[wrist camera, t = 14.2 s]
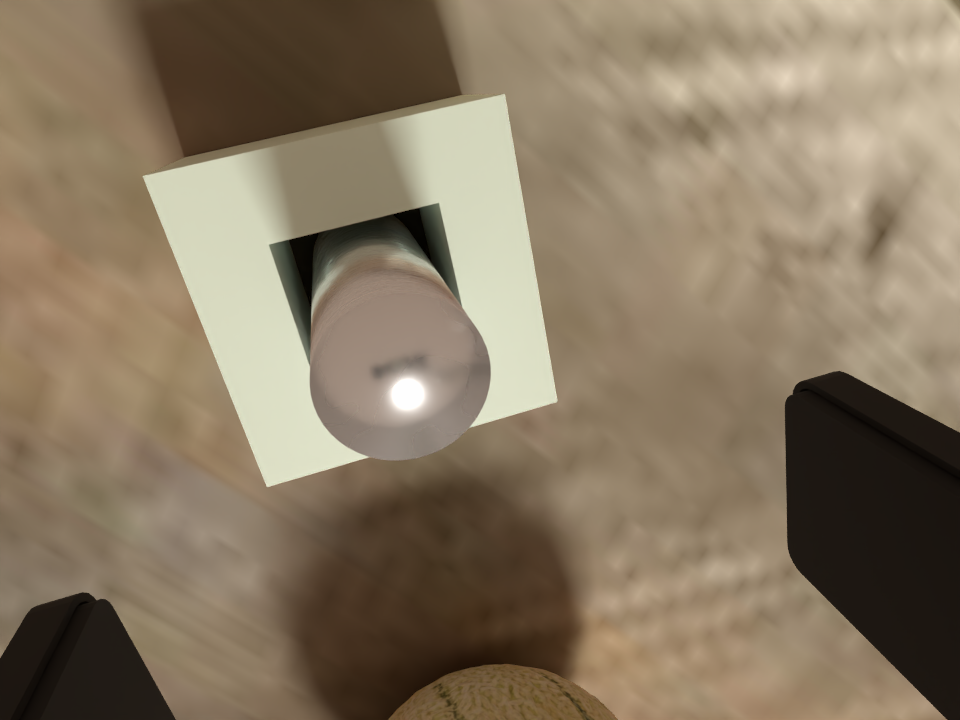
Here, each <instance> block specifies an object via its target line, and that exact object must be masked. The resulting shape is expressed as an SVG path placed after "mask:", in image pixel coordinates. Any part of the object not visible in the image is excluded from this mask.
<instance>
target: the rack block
mask: <svg viewBox="0 0 960 720" xmlns="http://www.w3.org/2000/svg"><path fill="white" fill-rule="evenodd" d="M143 178H144V180H145V183H146V185H147V188H148V190H149V193H150V195H151V198H152V201H153V203H154V206H155V208H156V211H157V213H158V216H159V218H160V221H161V223H162V226H163V228H164V231H165V233H166V236H167V238H168V241H169V243H170V246H171V248H172V251H173V253H174V256H175V258H176V261H177V263H178V266H179V268H180V271H181V273H182V276H183V278H184V281H185V283H186V286H187V288H188V291H189V293H190V296H191V298H192V301H193V303H194V306H195V308H196V311H197V313H198V316H199V318H200V321H201V323H202V326H203V328H204V331H205V333H206V336H207V338H208V341H209V343H210V346H211V348H212V351H213V353H214V356H215V358H216V361H217V363H218V366H219V368H220V371H221V373H222V376H223V378H224V381H225V383H226V386H227V388H228V391H229V393H230V396H231V398H232V401H233V403H234V406H235V408H236V411H237V413H238V416H239V418H240V421H241V423H242V426H243V428H244V431H245V433H246V436H247V438H248V441H249V443H250V446H251V448H252V451H253V453H254V456H255V458H256V461H257V463H258V466H259V468H260V471H261V473H262V476H263V478H264V481H265V483H266V486H267V487H269V486H273V485H276V484H280V483H283V482H286V481H290V480H293V479H297V478H300V477H303V476H307V475H310V474H314V473H317V472H320V471H324V470H327V469H331V468H334V467H337V466H341V465H344V464H348V463H351V462H354V461H358V460H361V459H365V458H368V456H365V455H363V454H360V453H357V452H355V451H353V450H352V449H350V448H348V447H346V446H345V445H343V444H342V443H341V442H339V441H338V440H337V439H336V438H335V437H334V436H332V435H331V434H330V432H329V431H328V430H327V429H326V428H325V426H324V425H323V423H322V422H321V420H320V419H319V417H318V415H317V413H316V410H315V408H314V406H313V402H312V398H311V393H310V347H311V307H310V304H309V301H308V298H307V295H306V292H305V289H304V286H303V283H302V280H301V276H300V273H299V270H298V267H297V264H296V261H295V258H294V255H293V252H292V249H291V246H290V242H289V239H293V238H298V237H302V236H306V235H310V234H314V233H318V232H322V231H326V230H330V229H334V228H338V227H342V226H346V225H350V224H354V223H358V222H363V221H367V220H371V219H375V218H379V217H383V216H387V215H391V214H395V213H399V212H403V211H407V210H411V209H415V208H419V211H420V215H421V219H422V223H423V228H424V232H425V236H426V240H427V245H428V249H429V253H430V257H431V262H432V265H433V266H434V267H435V269H436V270H437V272H438V273H439V275H440V276H441V277H442V279H443V280H444V282H445V283H446V285H447V286H448V288H449V289H450V290H451V292H452V293H453V295H454V296H455V298H456V299H457V301H458V302H459V303H460V305H461V306H462V308H463V309H464V311H465V312H466V314H467V315H468V316H469V318H470V319H471V321H472V322H473V324H474V325H475V326H476V328H477V330H478V331H479V333H480V334H481V336H482V338H483V340H484V342H485V345H486V347H487V351H488V354H489V358H490V365H491V379H490V387H489V391H488V395H487V398H486V401H485V403H484V406H483V408H482V410H481V411H480V413H479V415H478V417H477V418H476V420H475V421H474V422H473V424H472V425H471V426H470V427H473V426H477V425H480V424H484V423H487V422H490V421H494V420H497V419H501V418H504V417H507V416H511V415H514V414H518V413H521V412H524V411H528V410H531V409H535V408H538V407H541V406H545V405H548V404H552V403H555V402H557V396H556V390H555V384H554V379H553V373H552V367H551V361H550V355H549V349H548V344H547V338H546V332H545V326H544V320H543V314H542V309H541V303H540V297H539V291H538V285H537V279H536V274H535V268H534V262H533V256H532V250H531V244H530V239H529V233H528V227H527V221H526V215H525V209H524V204H523V198H522V192H521V186H520V180H519V174H518V169H517V163H516V157H515V151H514V145H513V139H512V134H511V128H510V122H509V116H508V110H507V104H506V98H505V94H479V95H460V96H455V97H451V98H446V99H442V100H437V101H433V102H428V103H424V104H420V105H415V106H411V107H406V108H402V109H397V110H393V111H388V112H384V113H380V114H375V115H371V116H366V117H362V118H357V119H353V120H349V121H344V122H340V123H335V124H331V125H326V126H322V127H317V128H313V129H309V130H304V131H300V132H295V133H291V134H286V135H282V136H278V137H273V138H269V139H264V140H260V141H255V142H251V143H246V144H242V145H238V146H233V147H229V148H224V149H220V150H215V151H211V152H206V153H202V154H198V155H193V156H189V157H184V158H182V159H180V160H178V161H175V162H173V163H171V164H169V165H166V166H164V167H162V168H160V169H157V170H155V171H153V172H151V173H149V174H146V175H144V176H143ZM470 427H469V428H470Z"/></svg>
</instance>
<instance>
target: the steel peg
mask: <svg viewBox="0 0 960 720" xmlns="http://www.w3.org/2000/svg"><path fill="white" fill-rule="evenodd" d="M490 379H491V365H490V358H489V354H488V351H487V347H486V345H485V342H484V340H483V338H482V336H481V334H480V333H479V331H478V330H477V328H476V326H475V325H474V324H473V322H472V321H471V319H470V318H469V316H468V315H467V314H466V312H465V311H464V309H463V308H462V306H461V305H460V303H459V302H458V301H457V299H456V298H455V296H454V295H453V293H452V292H451V290H450V289H449V288H448V286H447V285H446V283H445V282H444V280H443V279H442V277H441V276H440V275H439V273H438V272H437V270H436V269H435V267H434V266H433V265H432V263H431V262H430V260H429V259H428V257H427V256H426V254H425V253H424V252H423V250H422V249H421V247H420V246H419V244H418V243H417V241H416V240H415V239H414V237H413V236H412V234H411V233H410V231H409V230H408V229H407V227H406V226H405V225H404V224H403V223H402V222H401V221H400V220H399V219H397V218H396V217H395V216H393V215H387V216H383V217H379V218H375V219H371V220H367V221H363V222H358V223H354V224H350V225H346V226H342V227H338V228H334V229H330V230H326V231H322V232H320V233H319V235H318V237H317V239H316V242H315V245H314V250H313V271H312V309H311V347H310V393H311V398H312V402H313V406H314V408H315V410H316V413H317V415H318V417H319V419H320V420H321V422H322V423H323V425H324V426H325V428H326V429H327V430H328V431H329V432H330V434H331V435H332V436H334V437H335V438H336V439H337V440H338V441H339V442H341V443H342V444H343V445H345V446H346V447H348V448H350V449H352V450H353V451H355V452H357V453H360V454H363V455H365V456H368V457H372V458H376V459H382V460H408V459H415V458H419V457H423V456H426V455H429V454H432V453H435V452H437V451H439V450H441V449H443V448H445V447H446V446H448V445H449V444H451V443H452V442H454V441H455V440H456V439H458V438H459V437H460V436H461V435H463V434H464V432H465V431H466V430H467V429H468V428H469V427H470V426H471V425H472V424H473V422H474V421H475V420H476V418H477V417H478V415H479V413H480V411H481V410H482V408H483V406H484V403H485V401H486V398H487V395H488V391H489V387H490Z"/></svg>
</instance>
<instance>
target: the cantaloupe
mask: <svg viewBox="0 0 960 720" xmlns="http://www.w3.org/2000/svg"><path fill="white" fill-rule="evenodd" d="M388 720H618V719H617V718H616V717H615V715H614V714H613V713H611V712H610V711H609V710H608V709H607V708H606V706H605V705H604V704H602V703H601V702H600V701H599V700H598V699H597V698H596V697H595V696H592V695H591V694H589V693H588V692H587V691H585V690H584V689H582V688H581V687H579V686H578V685H576V684H574V683H573V682H571V681H569V680H566V679H564V678H562V677H560V676H559V675H557V674H554V673H552V672H549V671H546V670H544V669H539V668H533V667H523V666H519V665H510V664H502V665H499V664H496V665H482V666H480V667H471V668H467V669H464V670H460V671H456V672H453V673H449V674H447V675H445V676H443V677H441V678H439V679H438V680H436V681H434V682H433V683H431V684H429V685H427V686H425V687H424V688H422V689H420V690H418V691H416V692H415V693H414V694H413V695H412V696H411V697H410V698H409V699H408V700H407V701H406V702H405V703H404V704H402V705H401V706H400V707H399V708H398V709H397V710H396V711H395V712H394V713H393V715H392V716H391V717H390V718H389V719H388Z"/></svg>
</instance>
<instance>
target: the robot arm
mask: <svg viewBox="0 0 960 720" xmlns="http://www.w3.org/2000/svg"><path fill="white" fill-rule="evenodd" d="M785 435H786V488H787V541H788V550H789V554H790V557H791V559H792V561H793V563H794V564H795V566H796V568H797V569H798V570H799V571H800V573H801V574H802V575H803V576H804V577H805V578H806V579H807V580H808V581H809V582H810V583H811V584H812V585H813V586H814V587H815V588H816V589H817V590H818V591H819V592H820V593H821V594H822V595H823V596H824V597H825V598H826V599H827V600H828V601H829V602H830V603H831V604H832V605H833V606H834V607H835V608H836V609H837V610H838V611H839V612H840V613H841V614H842V615H843V616H844V617H845V618H846V619H847V620H848V621H849V622H850V623H851V624H852V625H853V626H854V627H855V628H856V629H857V630H858V631H859V632H860V633H861V634H862V635H863V636H864V637H865V638H866V639H867V640H868V641H869V642H870V643H871V644H872V645H873V646H874V647H875V648H876V649H877V650H878V651H879V652H880V653H881V654H882V655H883V656H884V657H885V658H886V659H887V660H888V661H889V662H890V663H891V664H892V665H893V666H894V667H895V668H896V669H897V670H898V671H899V672H900V673H901V674H902V675H903V676H904V677H905V678H906V679H907V680H908V681H909V682H910V683H911V684H912V685H913V686H914V687H915V688H916V689H917V690H918V691H919V692H920V693H921V694H922V695H923V696H924V697H925V698H926V699H927V700H928V701H929V702H930V703H931V704H932V705H933V706H934V707H935V708H936V709H937V710H938V711H939V712H940V713H941V714H942V715H943V716H944V717H945V718H946V719H947V720H960V433H959V432H957V431H955V430H953V429H952V428H950V427H948V426H946V425H944V424H942V423H940V422H938V421H936V420H934V419H933V418H931V417H929V416H927V415H925V414H923V413H921V412H919V411H917V410H915V409H913V408H912V407H910V406H908V405H906V404H904V403H902V402H900V401H898V400H896V399H894V398H893V397H891V396H889V395H887V394H885V393H883V392H881V391H879V390H877V389H875V388H873V387H872V386H870V385H868V384H866V383H864V382H862V381H860V380H858V379H856V378H854V377H853V376H851V375H849V374H847V373H844V372H841V371H837V372H832V373H828V374H825V375H821V376H818V377H815V378H811V379H808V380H804V381H801V382H799V383H798V384H797V385H796V386H795V388H794V390H793V395H790V396H789V397H788V398H787V400H786V402H785ZM0 720H176V719H175V718H174V716H173V714H172V712H171V710H170V709H169V707H168V705H167V703H166V701H165V700H164V698H163V696H162V694H161V692H160V691H159V689H158V687H157V685H156V683H155V682H154V680H153V678H152V676H151V674H150V673H149V671H148V669H147V667H146V665H145V664H144V662H143V660H142V658H141V656H140V655H139V653H138V651H137V649H136V647H135V646H134V644H133V642H132V640H131V638H130V637H129V635H128V633H127V631H126V629H125V628H124V626H123V624H122V622H121V620H120V619H119V617H118V615H117V613H116V611H115V610H114V608H113V606H112V605H111V604H110V602H108V601H107V600H106V599H100V600H96V599H95V598H94V597H93V596H92V595H90V594H89V593H83V592H82V593H79V594H75V595H72V596H68V597H65V598H62V599H58V600H55V601H51V602H48V603H45V604H41V605H38V606H36V607H34V608H32V609H31V610H30V611H29V612H28V613H27V615H26V616H25V618H24V620H23V621H22V623H21V625H20V626H19V628H18V630H17V631H16V633H15V635H14V636H13V638H12V640H11V641H10V643H9V645H8V646H7V648H6V650H5V651H4V653H3V655H2V656H1V658H0Z"/></svg>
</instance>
